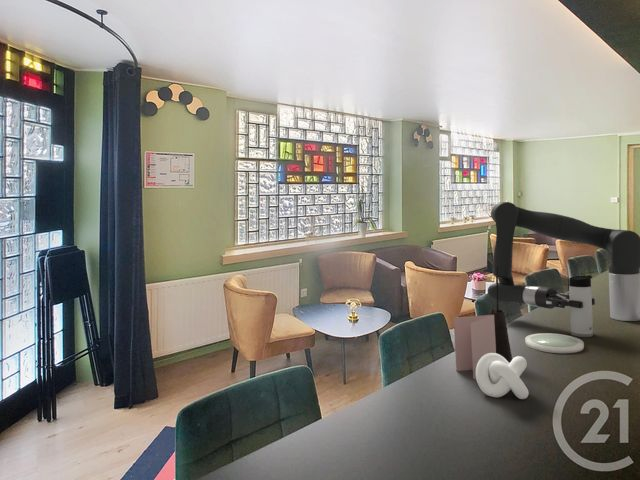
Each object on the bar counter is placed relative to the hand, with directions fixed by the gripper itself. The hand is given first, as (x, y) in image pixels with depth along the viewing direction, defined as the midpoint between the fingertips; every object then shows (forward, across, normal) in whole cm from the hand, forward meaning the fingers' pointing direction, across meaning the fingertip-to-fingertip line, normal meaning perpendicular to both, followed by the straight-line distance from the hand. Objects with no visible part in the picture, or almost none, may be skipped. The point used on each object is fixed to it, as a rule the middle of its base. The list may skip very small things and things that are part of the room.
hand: (588, 303), depth 131 cm
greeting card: (0, -52, +11) cm, 53 cm away
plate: (-2, -16, +11) cm, 20 cm away
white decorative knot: (+12, -58, +11) cm, 60 cm away
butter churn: (-4, -39, +11) cm, 41 cm away
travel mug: (-2, 0, +11) cm, 11 cm away
